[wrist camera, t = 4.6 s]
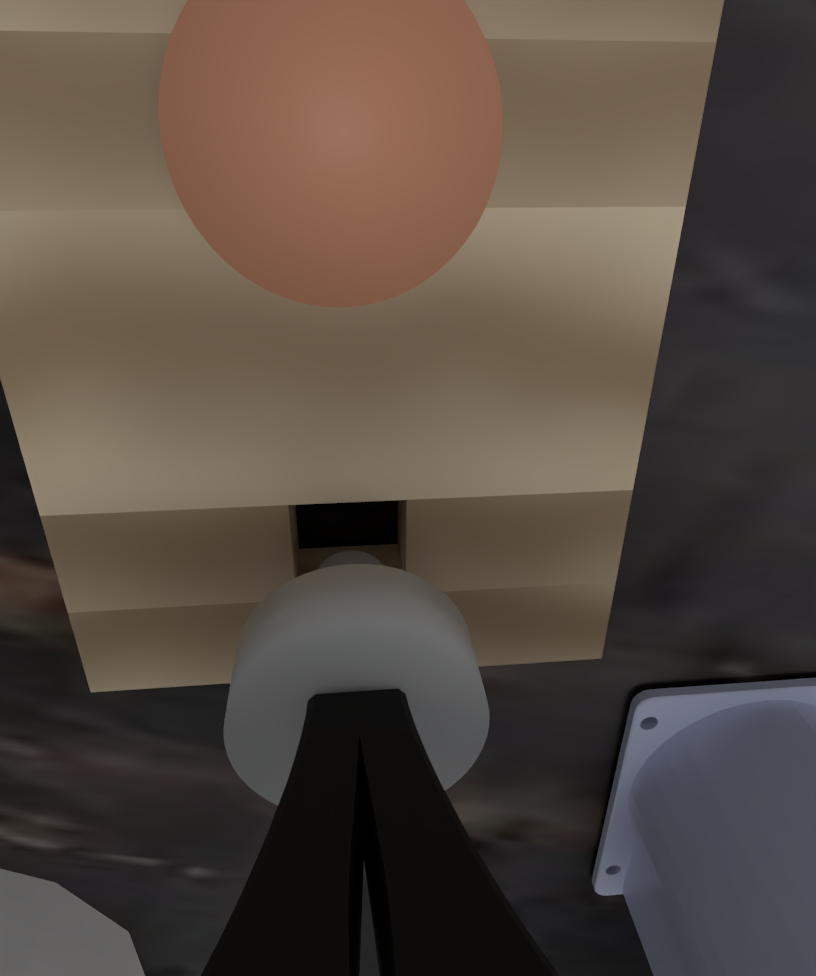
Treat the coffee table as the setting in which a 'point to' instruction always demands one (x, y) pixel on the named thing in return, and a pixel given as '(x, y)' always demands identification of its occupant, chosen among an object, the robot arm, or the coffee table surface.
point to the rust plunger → (331, 139)
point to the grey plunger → (352, 666)
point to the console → (339, 345)
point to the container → (58, 933)
